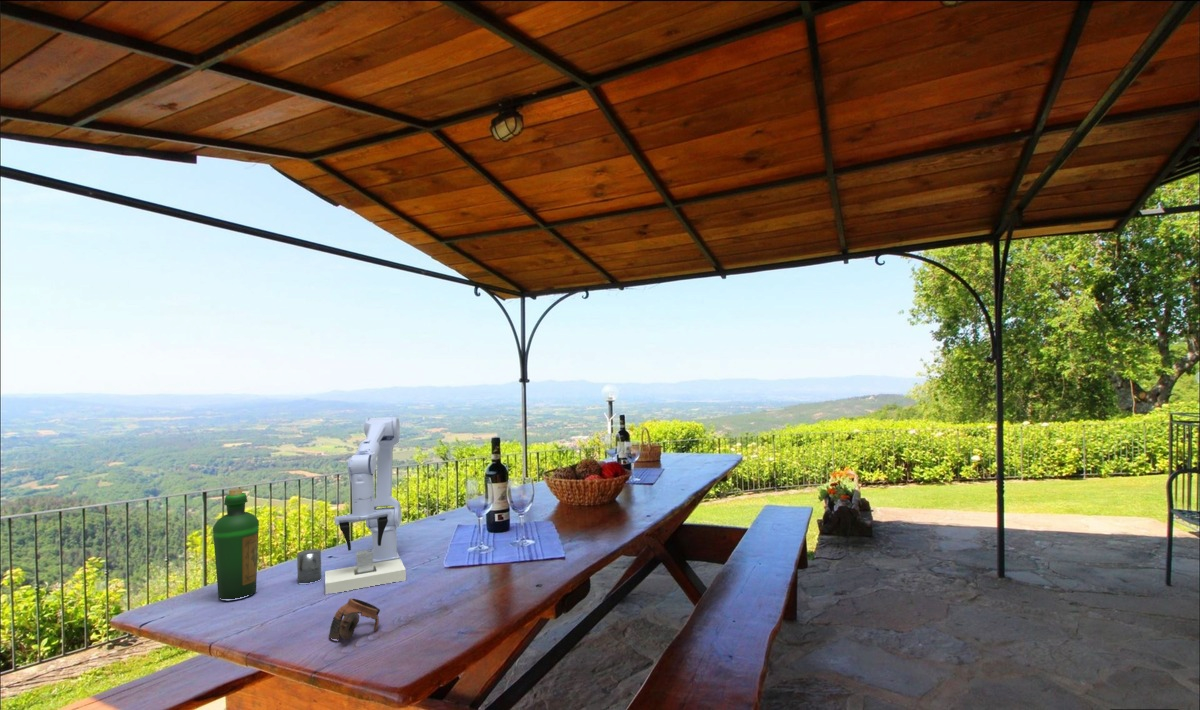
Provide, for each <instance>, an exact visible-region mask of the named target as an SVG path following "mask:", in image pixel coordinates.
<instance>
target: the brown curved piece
mask: <svg viewBox="0 0 1200 710" xmlns="http://www.w3.org/2000/svg"><path fill="white" fill-rule="evenodd" d="M380 612H381V609H380V608H378V607H377V606H375V605H374V604H371V603H368V602H366V601H363V600H361V599H358V598H357V599H356V598H349V599H348V601H347V603H345V604H344V605H341V606H340V607H339V608H338V609H337V611H336V612H335V614H334V616H333V619H332V621H331V623H330V624H331V626H330V629H329V634H328V638H329V637H330V638H332V639H337V640H338V639H339V640H340V637H341V638H342V639H343V640H348V639H352V638H353V635H354V633H355V630H356V628H357V626H358V624H359V622H360V616H361V617H365V618H368V619H370V618H371V619H373V620H374V621H375V622H374V627H373V631H374V632H376V631H377V630H378V627H379V625H380V621H379V620H380V619H379V613H380ZM359 614H360V615H359ZM330 638H329V639H330Z"/></svg>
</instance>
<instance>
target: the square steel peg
mask: <svg viewBox="0 0 1200 710" xmlns="http://www.w3.org/2000/svg"><path fill="white" fill-rule="evenodd" d="M356 566H357V575H358V574H364V573H370V572H373V548H369V549H364V550H358V551H356Z"/></svg>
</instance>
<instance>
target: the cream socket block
mask: <svg viewBox="0 0 1200 710" xmlns="http://www.w3.org/2000/svg"><path fill="white" fill-rule="evenodd" d="M403 563H404V562H403V561H402V559H401V558H399V559H393V560H387V561H381V562H375V563H373V572H370V573H364V574H358V575H357V565H354V566H349V567H341V568H336V569H330V570H325V571H324V573H325V574H324V575H325V577H324V580H325V583H324V584H325V586H324V587H325V588H324V589H325V595H326V594H328V593H336V594H338V593H337V592H342V593H345V592H344V591H347V592H350V591H349V590H353V589H358V590H360V589H359V588H363V587H369V588H371V587H370V586H374V587H376V586H375V585H380V584H385V585H387V584H386V583H391V584H393V583H392V582H396V583H400V582H399V581H402V582H406V581H407V573H406V572H407V571H406V570H407V569H406V567H405V566H404V564H403ZM405 580H406V581H405ZM380 586H381V585H380ZM363 589H364V588H363ZM353 591H354V590H353Z"/></svg>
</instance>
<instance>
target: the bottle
mask: <svg viewBox="0 0 1200 710" xmlns="http://www.w3.org/2000/svg"><path fill="white" fill-rule="evenodd" d="M243 490H244V489H243V488H242V487H241V488H240V487H239V488H233V489H228V494H226V495H225V498H224V502H223V503H224V504H223V505H224V506H226V514H224V515H222V516H221V517H220V518H219V519H217V521H216V522H215V523H214V525H213V527H212V534H213V546H214V547H213V548H214V559H215V572H216V584H217V585H216V586H217V592H218V593H217V595H218V596H217V597H218V599H219V598H221V599H235V598H240V597H244V596H247V595H251V594H252V595H254V594H255V593H257V580H258V579H257V578H258V553H259V528H260V525H259V524H260V520H259V519H258V518H257V516H256V515H254V514H253V513H250V512H249V511H245V509H246V504H247V503H248V502H249V501H248V497H247V492H243ZM253 593H254V594H253ZM252 595H251V596H252Z"/></svg>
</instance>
